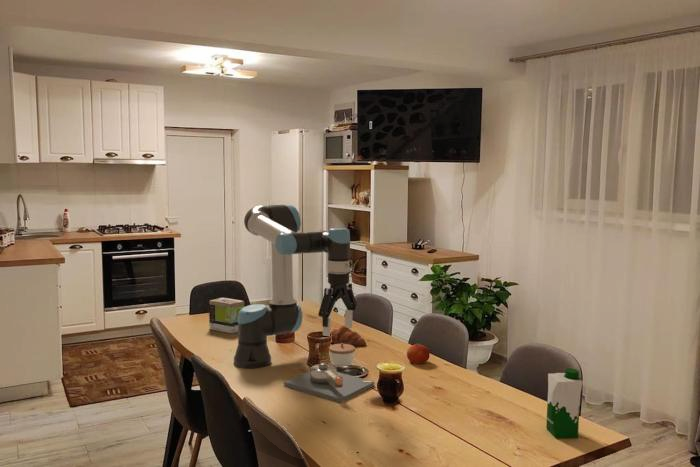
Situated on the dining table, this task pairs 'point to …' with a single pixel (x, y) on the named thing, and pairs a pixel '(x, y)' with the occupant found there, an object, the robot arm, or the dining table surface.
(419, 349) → the tomato
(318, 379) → the grey saucepan
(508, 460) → the dining table surface
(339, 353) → the lidded jar
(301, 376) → the base plate
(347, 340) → the pastry
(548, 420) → the milk carton
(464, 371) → the dining table surface
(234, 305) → the tea box
